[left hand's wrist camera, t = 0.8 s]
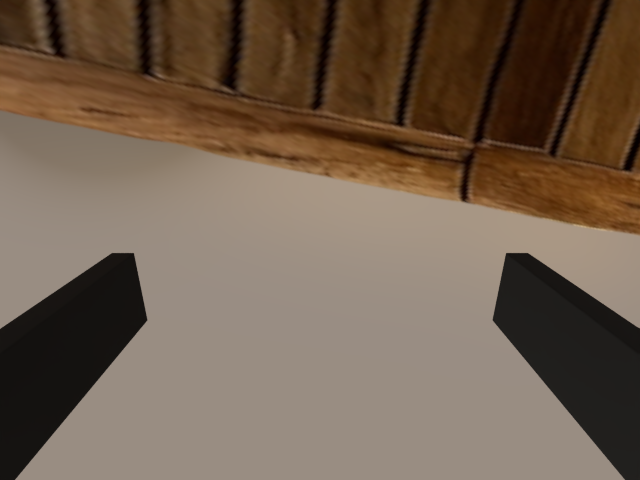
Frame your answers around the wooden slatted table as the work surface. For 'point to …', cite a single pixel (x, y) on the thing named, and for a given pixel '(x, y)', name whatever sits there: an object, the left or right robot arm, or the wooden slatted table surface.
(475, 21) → the wooden slatted table surface
